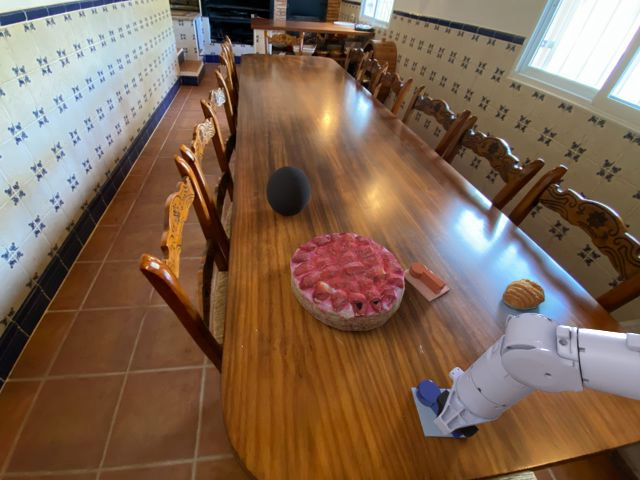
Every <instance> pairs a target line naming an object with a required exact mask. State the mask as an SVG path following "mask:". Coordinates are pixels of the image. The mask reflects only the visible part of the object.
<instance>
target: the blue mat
mask: <svg viewBox="0 0 640 480" xmlns="http://www.w3.org/2000/svg"><path fill="white" fill-rule="evenodd" d="M410 389H411V393H412V397H413V400H414V404H415V406H416V411H417V415H418V417H419V421H420V423H421V424H420V425H421V428H422V430H423V434H424V437H427V438H431V437H432V438H454V436H453V435H452V434H451V433H450V434H448V435H447V436H444V434H443V433H442V432H441V431H440V430H439V428H438V427H437V426H438V425H437V426H436V424H435V423H434V422H433V421H434V420H435V419H436V416H437V415H436V414H435V413H434V412H433V410H432V409H431V407H426V406H424V405H423V404H422V403H420V401H419V400H418V399H417V396H416V387H411V388H410ZM439 389H440V391H441V393H442V392H443V391H444V390H446V389H447V390H448V391H449V392H450V390H451V388H439ZM459 438H462V439H463V438H465V439H467V438H469V437H465V436H464V435H462V436H460V437H459Z"/></svg>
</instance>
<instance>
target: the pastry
mask: <svg viewBox="0 0 640 480" xmlns="http://www.w3.org/2000/svg"><path fill="white" fill-rule="evenodd" d="M502 301H503V302H504V303H505V304H506V305H507V306H509V307H510V308H512V309H514V310H516V311H518V310H519V311H521V310H531V309H535V308H537V307H538V306H539V305H541V304H543V303H545V302H546V295H545V290H544V288H543V287H542V286H541V285H540V284H539V283H538V282H536V281H532V280H530V279H529V278H521V279H518V280H514V281H512V282H510V283H509V284H508V285H507V286H506V288H505V291H503V294H502Z"/></svg>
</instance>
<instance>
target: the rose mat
mask: <svg viewBox="0 0 640 480" xmlns="http://www.w3.org/2000/svg"><path fill="white" fill-rule="evenodd" d="M409 269H410V267H409V268H407V269H405V270H404V280H406V281H407V283H408V284H410V285H411V286H412V287H413V288H414V289H415V290H416V291H417V292H418V293H419V294H420V295H421V296H422V297H423V298H424V299H425V300H427V301H428V303H431V302H433V301H434V300H436V299H437V298H439V297H441V296H442V295H444V294H446V293H447V292H449V291H450V288H449V287H448V286H446V285H445V286H444V288H443V289H442V291H441V292H440V293H438V294H437V295H435V294H434V293H433V292H432V291H431V290H430V289H429V288H428V287H427V286H426V285H425V284H424V283H422V282H421V281H420V280H419V279H416V278H414V277H412V276H411V275H410V274H409Z"/></svg>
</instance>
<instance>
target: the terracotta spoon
mask: <svg viewBox="0 0 640 480" xmlns="http://www.w3.org/2000/svg"><path fill="white" fill-rule="evenodd" d="M409 268H410V269H409ZM409 268H408V269H409V274H410V275H411V276H412V277H414V278H416V279H419V280H420V281H421V282H422V283H424V284H425V285H426V286H427V287H428V288H429V289H430V290H431V291H432V292H433V293H434V294H435V295H437V294H438V293H440V292H441V291H442V289H443V288H444V286H446V285H447V283H446V282H444V280H443V279H441V278H440V277H439V276H438V275H436V273H434V272H433V271H432V270H431V269H429V268H427V267H426V265H424V264H423V263H420V262H417V261H415V262H412V263H411V265H410V267H409Z"/></svg>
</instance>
